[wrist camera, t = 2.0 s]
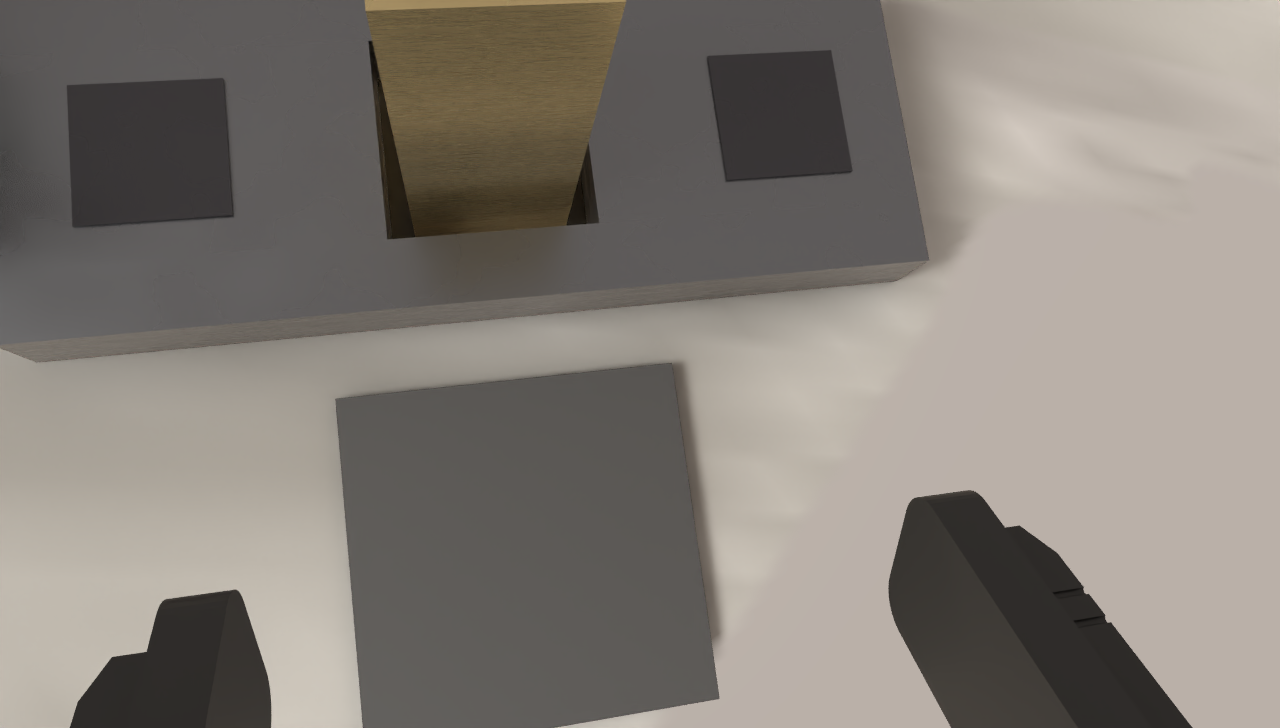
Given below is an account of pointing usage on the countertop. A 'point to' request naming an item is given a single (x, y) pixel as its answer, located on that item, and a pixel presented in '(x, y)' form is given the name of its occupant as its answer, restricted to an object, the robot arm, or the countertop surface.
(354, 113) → the grey slotted plate
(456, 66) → the wooden square peg
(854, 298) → the countertop surface
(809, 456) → the countertop surface
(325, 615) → the countertop surface
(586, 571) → the rubber mat
